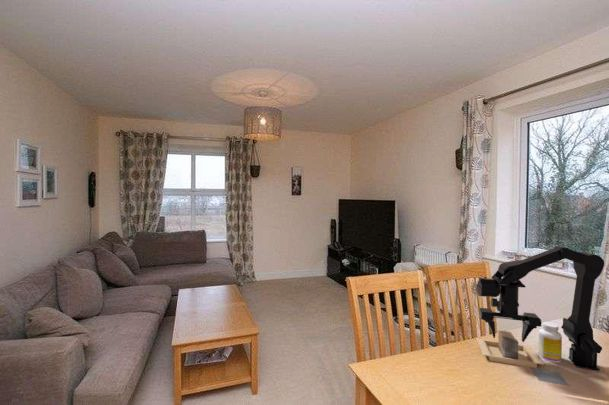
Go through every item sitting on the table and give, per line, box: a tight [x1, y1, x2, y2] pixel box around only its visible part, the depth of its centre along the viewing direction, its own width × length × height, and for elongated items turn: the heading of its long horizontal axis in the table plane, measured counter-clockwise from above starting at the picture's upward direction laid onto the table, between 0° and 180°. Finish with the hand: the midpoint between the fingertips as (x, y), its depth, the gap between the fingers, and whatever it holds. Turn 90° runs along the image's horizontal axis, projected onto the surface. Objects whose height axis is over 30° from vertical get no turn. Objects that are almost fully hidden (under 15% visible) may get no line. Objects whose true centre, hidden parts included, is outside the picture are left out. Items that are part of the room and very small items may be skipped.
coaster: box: [529, 367, 571, 387], centre depth 102 cm, size 8×8×1 cm
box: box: [497, 330, 519, 359], centre depth 115 cm, size 4×9×7 cm, turn 161°
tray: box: [476, 338, 545, 368], centre depth 115 cm, size 18×13×2 cm
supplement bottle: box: [537, 321, 563, 364], centre depth 113 cm, size 7×7×13 cm
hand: (508, 339), depth 115 cm, fingers open, 9 cm apart
